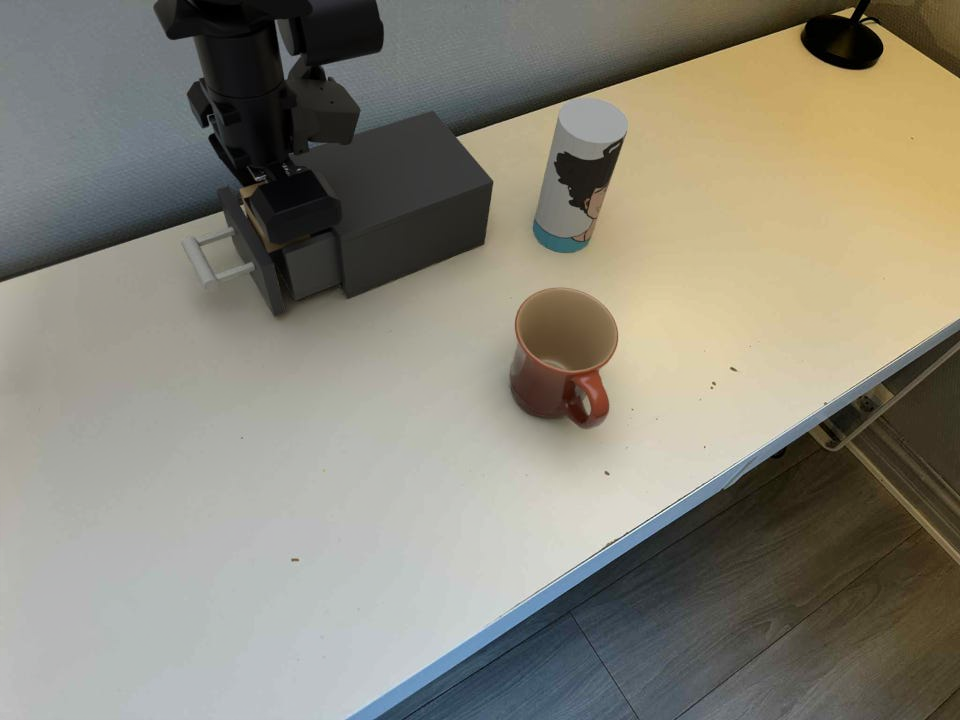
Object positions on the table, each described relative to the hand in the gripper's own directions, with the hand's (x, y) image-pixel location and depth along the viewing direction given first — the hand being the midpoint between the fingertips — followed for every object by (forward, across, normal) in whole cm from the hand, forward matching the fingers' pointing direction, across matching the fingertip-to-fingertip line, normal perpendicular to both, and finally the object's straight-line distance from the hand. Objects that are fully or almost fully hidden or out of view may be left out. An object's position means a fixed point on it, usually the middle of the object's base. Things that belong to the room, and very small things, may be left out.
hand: (277, 223), depth 63 cm
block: (+1, 0, 0) cm, 1 cm away
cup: (+7, -8, -29) cm, 31 cm away
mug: (+7, -26, -15) cm, 31 cm away
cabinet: (+7, 0, -12) cm, 14 cm away
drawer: (+6, 0, -2) cm, 6 cm away
